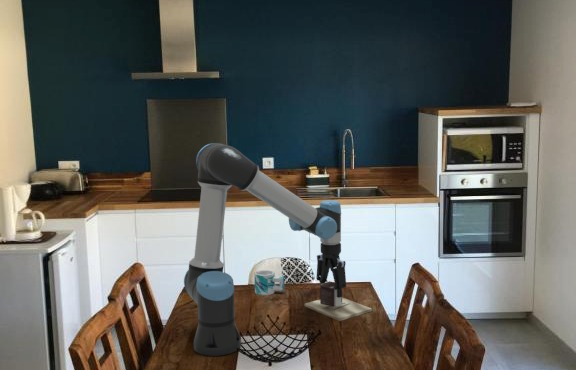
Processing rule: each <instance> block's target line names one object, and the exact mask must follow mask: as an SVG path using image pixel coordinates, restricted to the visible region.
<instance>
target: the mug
mask: <svg viewBox="0 0 576 370" xmlns="http://www.w3.org/2000/svg"><path fill="white" fill-rule="evenodd" d="M277 283H279V284H277ZM284 290H285V276H275V271H273V270H270V269H261V270H256V271H255V272H254V293H255V295H258V296H269V295H273V294H275V292H276V291H280V292H283V291H284Z"/></svg>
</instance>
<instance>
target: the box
mask: <svg viewBox="0 0 576 370" xmlns="http://www.w3.org/2000/svg"><path fill="white" fill-rule="evenodd" d="M334 288H336V286H335V282H334V281H330V280H329V281H327V283H326V282H325V283H324V284H322V285H320V287H319V289H320V292H319V293H320V296H319V298H320V299H319V300H320V303H321V304H323V305H327V306H331V307H334ZM342 297H343V296H342ZM342 297H341V303H342Z"/></svg>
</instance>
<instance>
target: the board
mask: <svg viewBox="0 0 576 370" xmlns="http://www.w3.org/2000/svg"><path fill="white" fill-rule="evenodd" d="M304 307H306V308H308V309H310V310H312V311H315V312H317V313H320V314H321V315H323V316H326V317H329V318H331V319H333V320H335V321H338V322H341V321H345V320H347V319H351V318H355V317H358V316H361V315H364V314H367V313H371V312H372V311H373V309H372V308H371V307H369V306H365V305H364V304H361V303H358V302H355V301H353V300H350V299H348V298H345V297H343V296H342V303H341V305H339V306H334V307H331V306H327V305H323V304H321V303H320V299H316V300H313V301H310V302H306V303H304Z"/></svg>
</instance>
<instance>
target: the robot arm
mask: <svg viewBox="0 0 576 370" xmlns="http://www.w3.org/2000/svg"><path fill="white" fill-rule="evenodd" d="M195 158H196V160H195V161H196V168H197V170H198V175H197V183H198V185H199V186H200V187H201V189H200V191H201V192H200V200H199V209H198V218H197V229H196V238H195V249H194V256H193V258H192V259H191V260H189V263H188V269H187V271H186V272H185V273H184V274H185V275H184V276H183V277H184V278H183V285H184V289H185V292H186V294H187V295H188V296H189V297H190V299H192V301H194V303H195V304H196V305H197V319H198V320H197V323H198V325H197V328H196V332H195V336H194V339H193V351H195V353H198V354H199V355H202V356H208V357H209V356H210V357H219V356H220V357H221V356H226V355H230V354H232V353H234V352H236V351H238V350H237V349H236V348H239V349H241V347H240V346H242V344H241V343H242V339H241V335H240V333H239V330H238V328H237V327H238V326H237V325H236V321H235V318H236V314H235V285H234V279H233V276H231V275H230V274H228V273H227V272H225V271H224V263H223V262H222V260H221V252H222V241H223V232H224V224H225V215H226V204H227V196H228V190H229V189H230V188H231V187H234V188H236V189H238V190H239V191H242V192H244V191H246V192H249V194H251V195H253V196H255V197H256V198H257V199H259V200H260V201H263V202H264V203H266V204H267V206H268V205H269V206H270V207H272V208H273V209H274V210H276V211H278V212H279V213H281V214H282V215H284V216H285V217H287V218H288V223H289V227H290V229H291V230H292V231H293V232H297V231H298V232H301V231H305V232H307V233H309V234H312V235H314V236H317V237H318V238H319V239H320V254H318V255H316V260H317V262H316V263H317V264H316V276H315V277H316V281H318V282H319V284H320V285H322V284H324V283H327V282H328V276H329V274H330V273H329V271H330V272H331V273H332V276H333V282H335V286H336V288H334V306H339V305H341V297H343V289H345V288H347V279H346V278H347V276H346V261H345V260H344V261H343V260H341V258H340V254H341V252H342V243H341V241H342V238H341V237H342V233H341V232H342V222H341V221H342V207H341V203H340V202H339V201H338V200H333V199H327V200H322V201H320V203H319V207H314V206H312V205H311V204H310V203H308V202H307V201H305V200H304V199H302V198H301V197H299V196H298V195H296V194H295V193H293V192H292V191H290V190H289V189H287V188H286V187H284V186H283V185H281V184H280V183H279V182H277V181H275V180H274V179H272V178H271V177H269V176H268V175H267V174H265V173H263V172H262V171H260V167H259V165H258V164H256V163H254V162H253V161H252V160H251V159H249V158H248V157H247V156H246V155H244V154H243V153H242V152H241V151H240V150H238V149H237V148H235V147H234V146H231V145H227V144H224V143H219V142H213V143H208V144H206V145H204V146H203V147H202V148H201V149H200V150H199V151H198V152H197V155H196V157H195Z"/></svg>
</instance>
